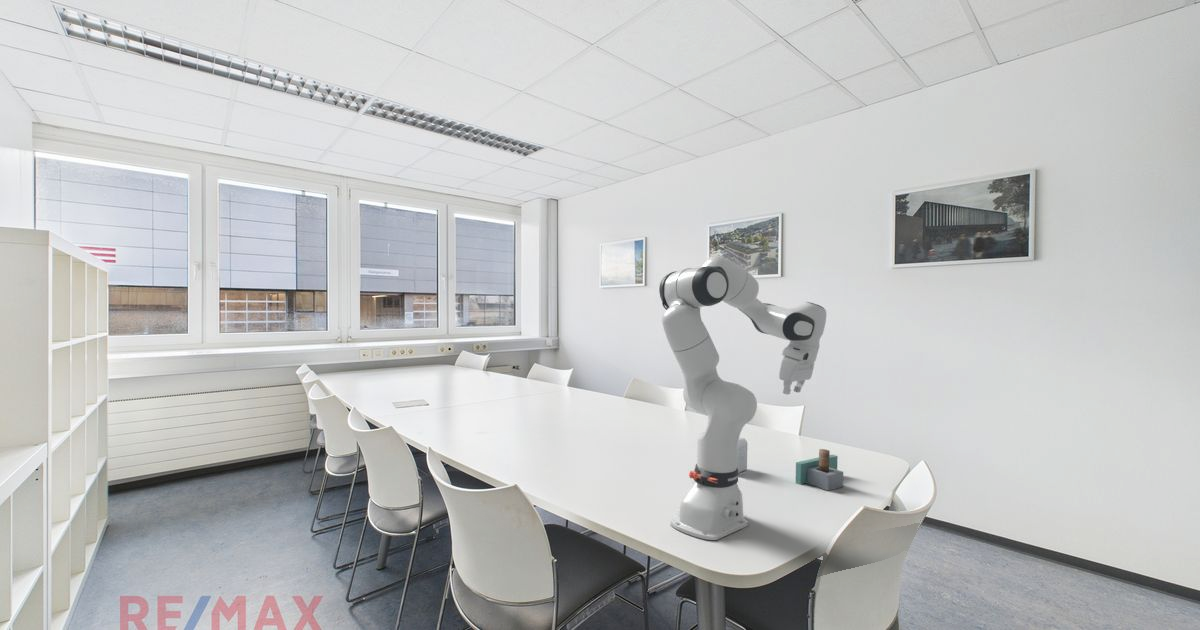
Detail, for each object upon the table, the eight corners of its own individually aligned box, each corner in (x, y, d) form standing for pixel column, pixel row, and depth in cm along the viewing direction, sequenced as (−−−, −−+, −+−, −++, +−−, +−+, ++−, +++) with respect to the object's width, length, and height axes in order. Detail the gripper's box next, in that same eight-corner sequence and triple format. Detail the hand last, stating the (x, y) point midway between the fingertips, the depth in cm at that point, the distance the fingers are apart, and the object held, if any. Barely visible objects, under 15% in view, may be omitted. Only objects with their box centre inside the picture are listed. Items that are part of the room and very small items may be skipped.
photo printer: (738, 466, 178) (738, 434, 178) (748, 469, 175) (749, 436, 175) (723, 473, 171) (724, 439, 171) (734, 476, 168) (734, 441, 167)
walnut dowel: (827, 482, 158) (828, 452, 158) (817, 479, 160) (818, 450, 160) (829, 479, 161) (830, 450, 160) (819, 477, 163) (820, 448, 163)
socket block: (843, 486, 159) (843, 471, 159) (827, 490, 155) (828, 475, 155) (821, 478, 166) (821, 464, 165) (806, 482, 162) (807, 468, 162)
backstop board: (837, 475, 170) (837, 456, 170) (800, 484, 160) (800, 464, 160) (832, 473, 172) (832, 454, 172) (795, 482, 162) (795, 462, 162)
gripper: (803, 349, 163) (793, 387, 164) (780, 349, 147) (770, 391, 149) (822, 354, 158) (811, 393, 160) (800, 355, 143) (789, 398, 145)
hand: (791, 392), depth 154 cm, fingers open, 8 cm apart
